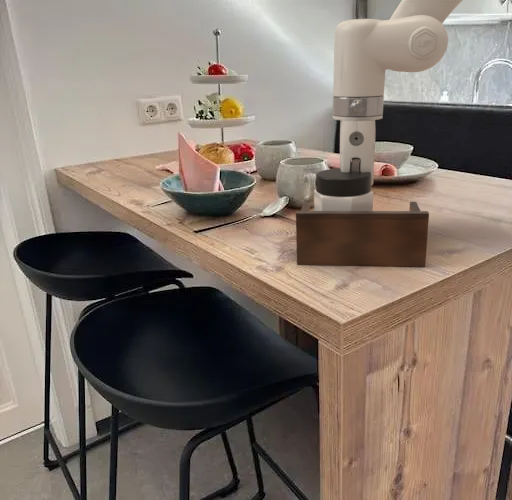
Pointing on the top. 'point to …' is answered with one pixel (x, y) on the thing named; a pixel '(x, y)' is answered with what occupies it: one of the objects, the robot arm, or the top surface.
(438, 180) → the top surface
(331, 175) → the jar
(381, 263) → the brown wooden tray
